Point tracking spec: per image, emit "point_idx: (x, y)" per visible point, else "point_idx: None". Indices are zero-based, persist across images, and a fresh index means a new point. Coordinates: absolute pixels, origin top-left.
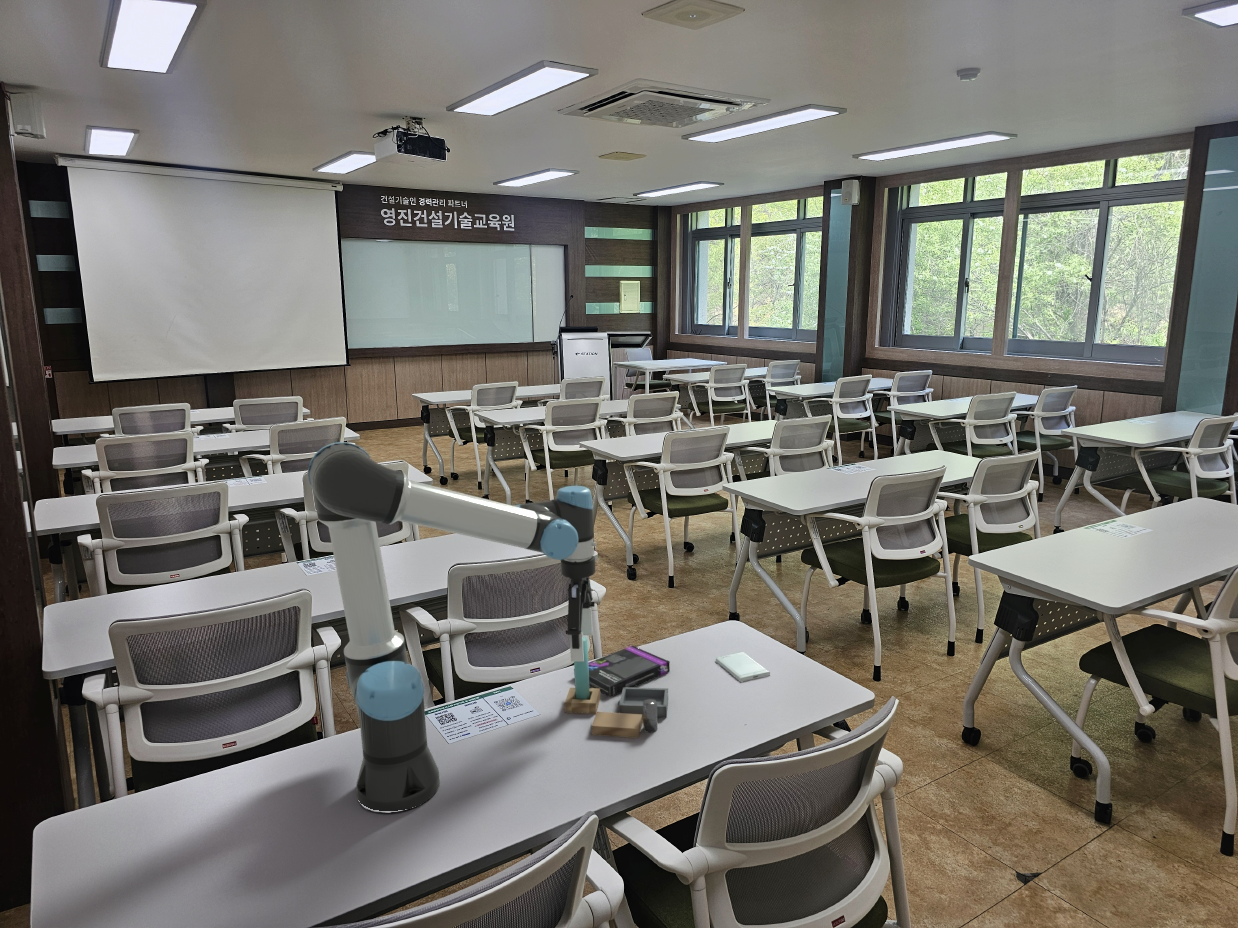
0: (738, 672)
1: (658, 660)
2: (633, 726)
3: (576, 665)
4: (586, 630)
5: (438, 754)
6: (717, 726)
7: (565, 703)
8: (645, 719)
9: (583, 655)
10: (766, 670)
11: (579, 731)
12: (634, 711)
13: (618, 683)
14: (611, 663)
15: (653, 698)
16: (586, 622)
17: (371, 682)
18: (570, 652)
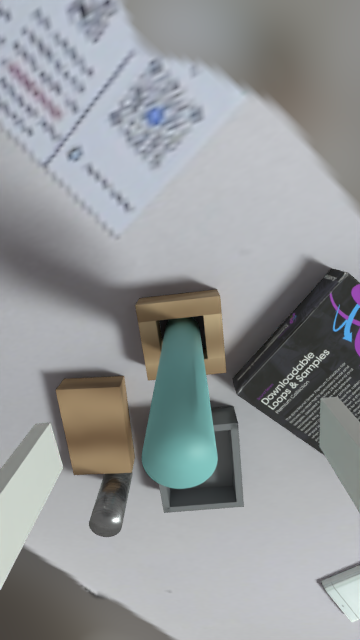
0: (348, 585)
1: None
2: (80, 465)
3: (156, 378)
4: (331, 441)
5: None
6: (153, 560)
7: (136, 306)
8: (100, 487)
9: (51, 485)
10: (357, 619)
11: (68, 351)
12: None
13: (257, 408)
14: None
15: (228, 466)
16: (356, 479)
17: None
18: (11, 455)
